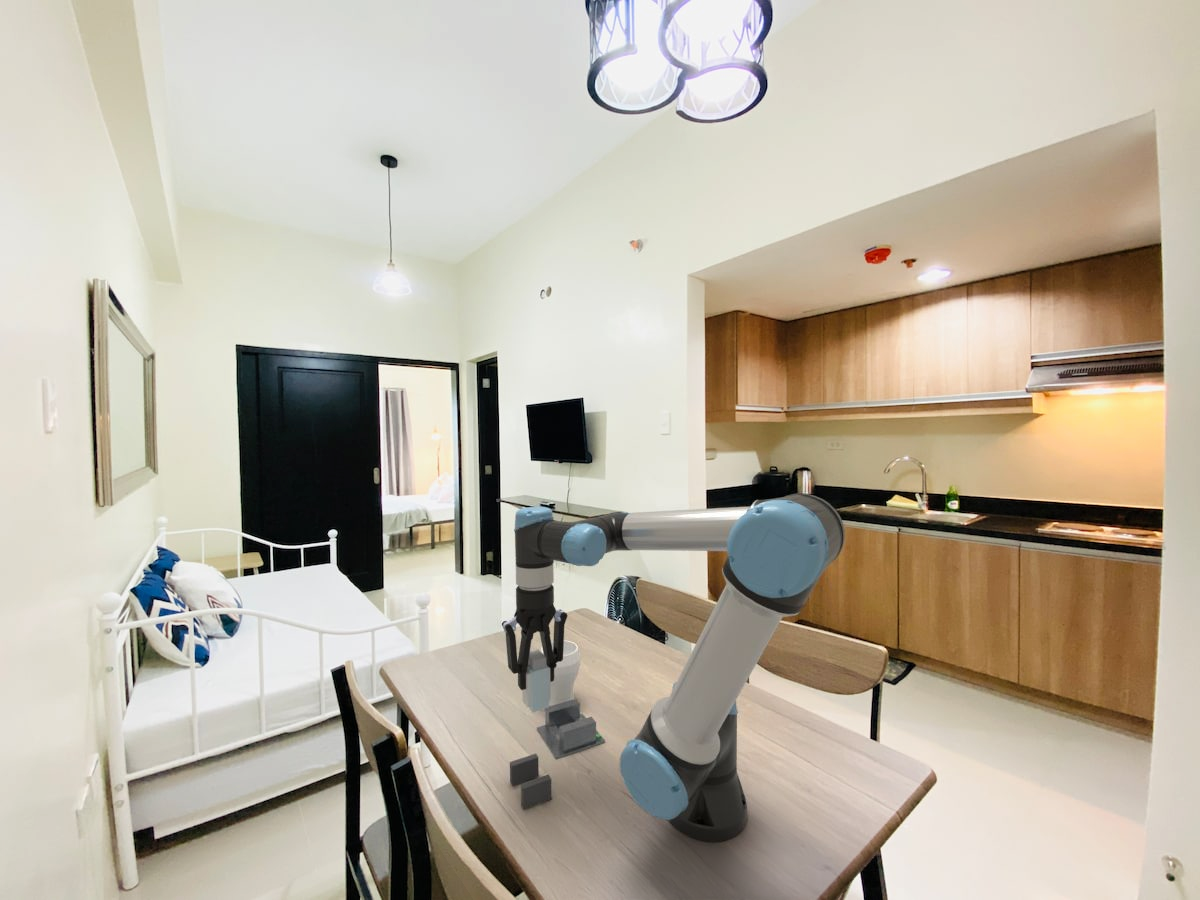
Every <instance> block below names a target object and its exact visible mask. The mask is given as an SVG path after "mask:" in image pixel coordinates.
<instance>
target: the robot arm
mask: <svg viewBox="0 0 1200 900" xmlns="http://www.w3.org/2000/svg"><path fill="white" fill-rule="evenodd" d="M553 514H554V513H553V510H552V509H551V508H549V507H547V506H546V507H545V506H531V507H523V508H519V509H518V510H517V511H516V512H515V517H514V518H515V519H514V520H515V521H514V530H513V532H514V546H515V547H514V548H515V552H514V553H515V556H514V557H515V585H517V587H516V588H515V605H516V606H515V607H516V609H515V612H514V615H513V618H510V620H508V621H507V620H503V621H502V623H501V627H502V629H503V631H504V633H505V644H506V656H507V657H506V658H507V667H508V669H509V670H510V672H511V673H512V674H514V675H516V674H517V686H518V688H519V689H520V690H521V691H522V702H523V704H524V705H525V706H526V708H529V707H531V683H530V673H529V672H528V671H527V667H528V660H529V654H530V652H531V646H532V640H533V639H534V635H535V633H539V637H540V641H541V648H543V653H544V656H545V657H546V666H547V667H548V668H549V701H550V700H551V687H550V682H552V681H554V668H556V666H557V664H556V663H557V662H558V661H559V662H561V661H562V660H563V647H564V640H565V624H566V621H567V619H568V614H567V612H566V611H564V610H562V609H556V607H555V606H554V602H555V596H554V595H555V594H554V592H555V588H554V585H553V583H554V582H555V580H554V573H555V572H554V561H556V562H560V563H566V564H570V565H573V566H577V567H594V566H596V565H597V564H599V562H600V560H603V558H604V556H605V554H607V553H611V552H615V551H623V552H624V551H627V552H628V551H683V552H684V551H688V552H689V551H690V552H691V551H692V552H694V551H695V552H696V551H697V552H701V551H702V552H727V554H726V555H727V558H726V560H725V561H724V563H723V565H722V568H721V573H722V576H723V578H724V580H725V583H726V584H725V587H724V588H723V590H722V593H720V596H719V598H718V600H717V602H716V604H715V606H714V608H713V609H712V612H711V614H710V616H709V618H708V619H707V621H706V624H705V626H704V628H703V629H702V631H701V633H700V635H699V637H698V639H697V641H696V643H695V646H694V647H693V649H692V651H691V653H690V655H689V657H688V659H687V661H686V663H685V664H684V667H683V669H682V671H681V673H680V674H679V676H678V679H677V681H675V682H674V683H673V686H672V690H671V693H670V695H669V696H667V697H663V698H660V699H659V700H658V699H657V701H656V702H655V703H654V705H653V706H652V708H651V710H650V712H649V714H648V716H647V718H646V720H645V722H644V724H643V725H642V727H641V729H640V731H639V732H638V734H637V735H636V736H635V737H634V738H633V739H630V740H629V741H628V742H627V743H626V746H625V747H624V748H623V750H622V751H621V754H620V757H619V769H620V773H621V777H622V779H623V781H624V785H625V787H626V789H627V791H628V792H629V794H630V796H631V797H632V799H633V800H634V802H636V803H637V805H638V806H639V807H640V808H641V809H643V811H645V813H648V815H651V816H652V817H654V818H659V819H661V820H665V821H669V822H670V823H671V825H673V826H674V828H676V829H677V830H678V831H679V832H681V833H682V834H684V835H686V836H687V837H690V838H692V839H695V840H699V841H703V842H709V843H710V842H711V843H712V842H713V843H716V842H717V843H718V842H725V841H727V840H728V841H729V840H731V839H733V838H735V837H736V836H738V835H739V834H740V833H741V832H742V831H743V830H744V828H745V827H746V824H747V818H748V804H747V803H748V802H747V799H746V796H745V792H744V790H743V786H742V783H741V781H740V777H739V774H738V770H737V769H738V768H737V767H738V766H737V765H738V759H737V758H738V757H737V755H738V751H737V750H738V713H739V711H738V709H737V699H738V697H739V696H740V694H741V692H742V690H743V688H744V686H745V685H746V683H747V681H748V680H749V678H750V676H751V674H752V672H753V670H754V669H755V667H756V665H757V663H758V662H759V660H760V658H761V656H762V655H763V652H764V651H765V649H766V647H767V645H768V644H769V642H770V640H771V638H772V637H773V635H774V634H775V631H776V630H777V628H778V626H779V624H780V622H781V621H782V619H783V618H785V617H793V616H794V617H795V616H797V615H798V614H800V612H801V611H802V608H803V607H804V605H805V603H806V602H807V600H808V599H809V597H810V595H811V594H812V592H813V590H814V589H815V586H816V585H817V583H818V582H819V579H821V576H822V575H823V573H824V572H825V570H826V569H827V568H828V567H829V566H830V565H831V564H832V563H834V561H836V559H837V558H838V557H839V556H840V553H841V552H842V550H843V548H844V545H845V540H846V530H845V526H844V523H843V520H842V518H841V516H840V514H839V513H838V511H837V510H836V508H834V506H832V505H831V504H830V502H828V501H826V500H825V499H823V498H821V497H818V496H816V495H812V494H809V493H793V494H788V495H785V496H783V497H775V498H769V499H768V498H767V499H756V500H754V501H753V502H752V504H751V505H750V506H737V507H736V506H733V507H716V508H699V509H682V510H681V509H677V510H659V511H658V510H657V511H643V512H639V511H638V512H637V511H636V512H627V511H615V512H614V511H613V512H610V513H608V514H605V515H600V516H594V517H590V518H586V519H580V520H576V521H561V520H555V519H554V518H555V517H554V516H553ZM553 620H554V623H553V649H552V644H551V642H552V640H551V639H552V638H551V629H550V624H551V622H552V621H553ZM517 625H519V626H520V628H521V630H520V634H521V636H520V644H519V650H518V649H517V639H516V637H517V636H516V633H515V632H516V630H517Z"/></svg>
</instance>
